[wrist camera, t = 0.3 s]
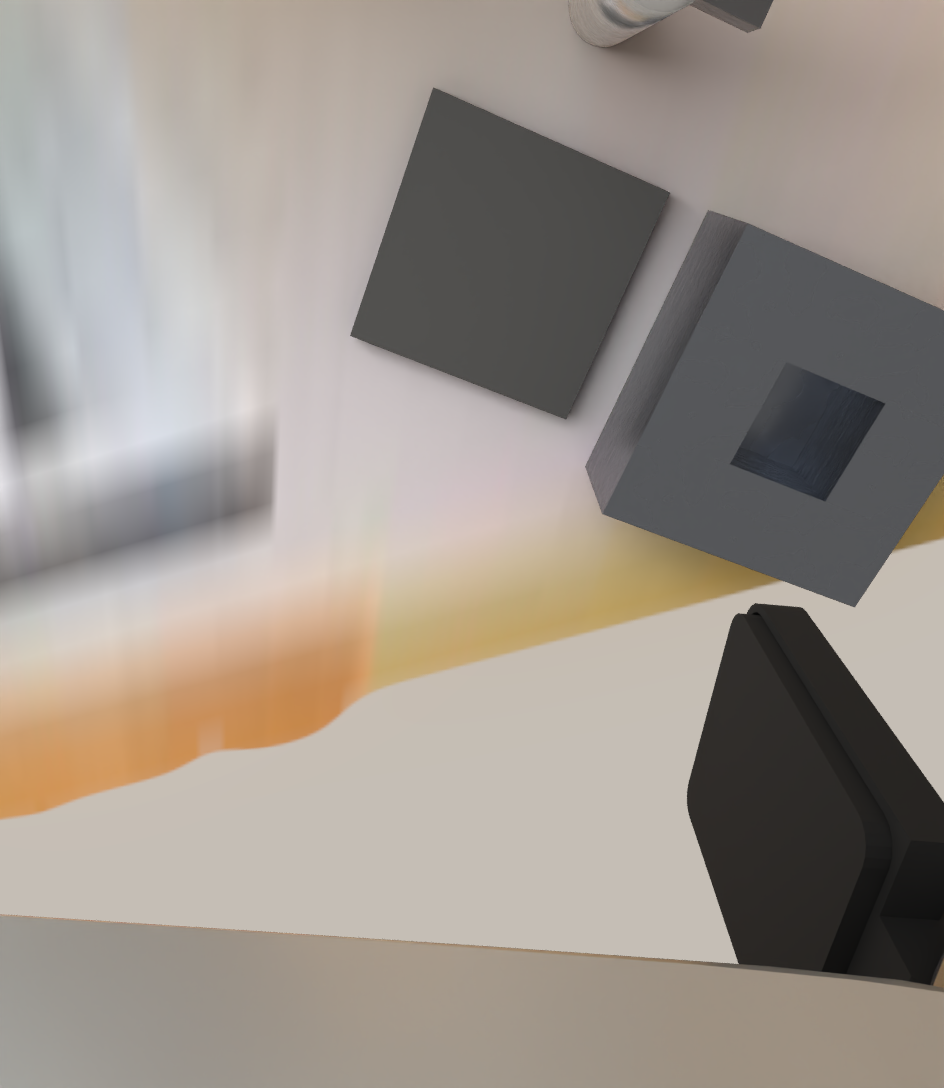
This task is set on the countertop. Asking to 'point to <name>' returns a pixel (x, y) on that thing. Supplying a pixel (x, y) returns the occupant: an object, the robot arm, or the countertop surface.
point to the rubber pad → (504, 256)
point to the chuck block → (779, 414)
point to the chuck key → (654, 16)
